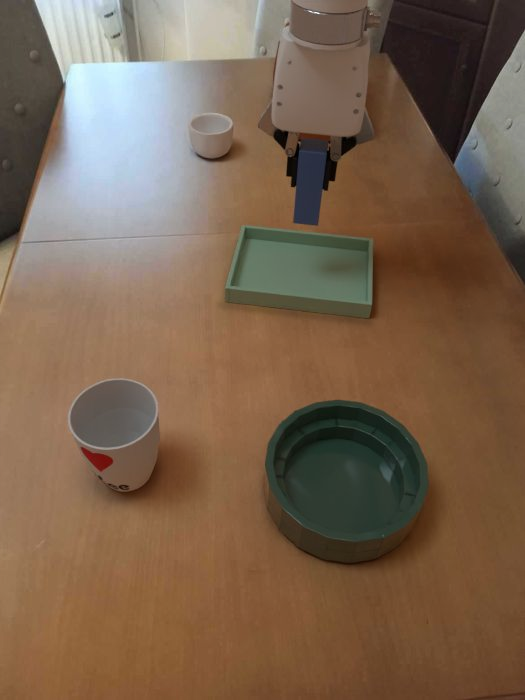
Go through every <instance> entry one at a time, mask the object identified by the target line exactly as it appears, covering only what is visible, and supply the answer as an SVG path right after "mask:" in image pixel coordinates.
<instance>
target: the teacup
mask: <svg viewBox="0 0 525 700" xmlns="http://www.w3.org/2000/svg"><path fill="white" fill-rule="evenodd" d="M187 128H188V135H189V136H188V137H189V141H190V146H191V147H192V149H193V150H194V152H195V153H196V154H197V155H198V156H200V157H202V158H204V159H205V158H206V159H218V158H221V157H223V156H225V155H226V154H228V152H229V151H230V149H231V148H232V144H233V138H234V137H233V136H234V123H233V120H232V118H230V117H229V116H227V115H225V114H222V113H218V112H203V113H199V114H196V115H194V116H193V117H191V118H190V119H189V121H188V127H187Z"/></svg>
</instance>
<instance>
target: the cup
mask: <svg viewBox="0 0 525 700" xmlns="http://www.w3.org/2000/svg"><path fill="white" fill-rule="evenodd" d="M67 425H68V428H69V430H70V433H71V435H72V437H73V439H74V441H75V443H76V445H77V447H78V450H79V452H80V454H81V456H82V458H83V459H84V461H85V463H86V464H87V465H88V467H89V468H90V469H91V471H92V472H93V474H94V475H95V476H96V477H97V478H98V479H99V480H100V481H101V482H102V483H104V484H105V485H106V486H108V487H109V488H110V489H112V490H114V491H117V492H122V493H127V492H128V493H129V492H132V491H136V490H138V489H140V488H142V487H143V486H144V485H146V483H147V482H148V481H149V479H150V478H151V475H152V473H153V471H154V468H155V465H156V464H157V460H158V455H159V445H160V436H161V434H160V433H161V432H160V416H159V403H158V399H157V397H156V395H155V394H154V392H153V391H152V390H151V389H150V388H149V387H148V386H146V385H145V384H143V383H142V382H139V381H137V380H134V379H131V378H123V377H121V378H117V377H116V378H107V379H104V380H101V381H98V382H95V383H94V384H92V385H89V386H88V387H86V388H85V389H84V390H83V391H81V392H80V393H79V394H78V395H77V396H76V398H75V399H74V400H73V401H72V403H71V405H70V407H69V410H68V414H67Z"/></svg>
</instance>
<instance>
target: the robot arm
mask: <svg viewBox="0 0 525 700" xmlns="http://www.w3.org/2000/svg"><path fill="white" fill-rule="evenodd" d="M368 4H369V0H290V9H289V22H290V23H289V26H286V25H285V26H286V27H285V26H284V27H285V28H284V27H283V28H282V32H281V35H280V40H279V41H280V44H279V49H278V55H277V62H276V70H275V78H274V87H273V86H272V90H273V97H272V96H271V99H270V101H269V103H268V104H267V106H266V108H265V109H264V111H263V112H262V114H261V115H260V117H259V119H258V122H257V128H258V129H259V130H261V131H262V132H263V133H265V134H267V135H268V136H271V137H272V138H273V139H274V140H275V142H276V143H277V144H278V145H279V146H280V147H281V149H283V150H284V154H285V156H286V157H287V158H286V169H285V170H286V172H285V174H286V175H285V177H289V178H291V179H290V188H296V182H297V170H298V158H299V149H300V143H299V140H298V137H299V133H308V134H318V135H328V136H331V141H330V146H328V149H327V157H326V165H325V173H324V181H323V189H322V190H323V191H325V192H329V187H330V186H329V185H330V182H336V176H337V168H338V162H339V161H340V160H341V159H342V157H343V156H345V154H347V153H349V152H350V151H352V149H355V147H356V146H358V145H362V144H365V143H367V142H369V141H372V140H373V139H374V138H375V128H374V125H373V122H372V120H371V117H370V115H369V113H368V110H367V107H366V101H367V94H368V86H369V75H370V61H371V38H370V34H369V33H367V31H368V29H372V28H377V29H379V28H380V24H381V19H382V12H379V11H375V10H373V9H371V6H368ZM288 131H289V132H288Z"/></svg>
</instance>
